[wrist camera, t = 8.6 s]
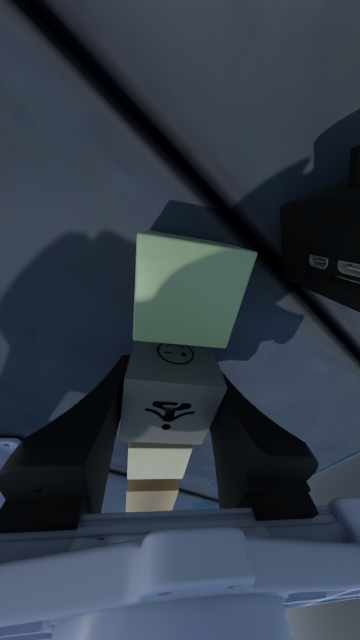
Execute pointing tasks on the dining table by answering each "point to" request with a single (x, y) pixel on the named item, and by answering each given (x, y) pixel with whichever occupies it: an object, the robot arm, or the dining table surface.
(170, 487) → the maple block
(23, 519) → the robot arm
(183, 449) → the cream block
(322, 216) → the digital camera
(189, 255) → the sage block
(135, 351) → the dice cube
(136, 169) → the dining table surface
